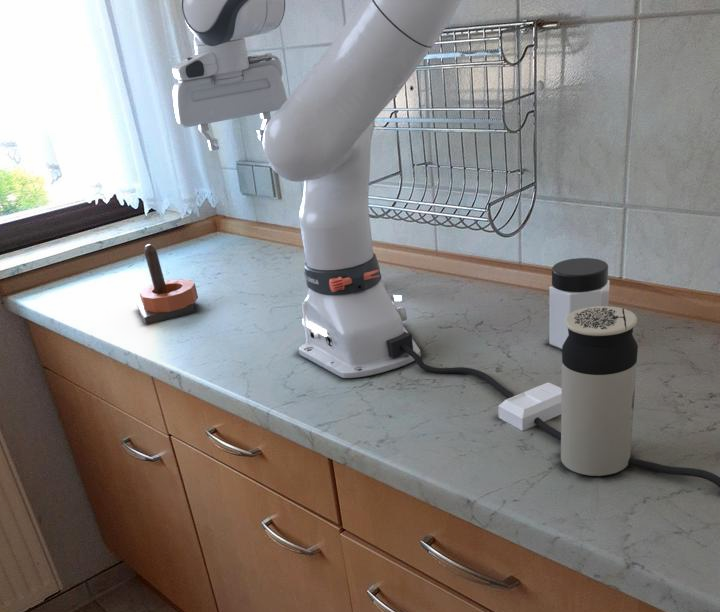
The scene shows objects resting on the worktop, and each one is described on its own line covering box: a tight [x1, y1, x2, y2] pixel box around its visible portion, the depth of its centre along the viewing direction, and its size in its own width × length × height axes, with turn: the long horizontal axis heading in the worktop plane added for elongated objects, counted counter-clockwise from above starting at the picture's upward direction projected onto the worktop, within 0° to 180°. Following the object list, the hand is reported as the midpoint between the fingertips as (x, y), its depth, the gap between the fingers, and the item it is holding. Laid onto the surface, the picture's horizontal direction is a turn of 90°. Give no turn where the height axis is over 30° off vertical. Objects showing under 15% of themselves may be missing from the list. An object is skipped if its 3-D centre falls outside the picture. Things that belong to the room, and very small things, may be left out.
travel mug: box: [560, 305, 639, 477], centre depth 90 cm, size 8×8×18 cm
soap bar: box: [497, 382, 562, 432], centre depth 106 cm, size 5×9×3 cm, turn 120°
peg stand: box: [136, 243, 196, 325], centre depth 158 cm, size 10×10×14 cm
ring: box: [139, 278, 199, 313], centre depth 160 cm, size 11×11×3 cm
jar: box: [548, 257, 611, 350], centre depth 121 cm, size 9×8×12 cm
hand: (239, 144), depth 145 cm, fingers open, 8 cm apart
